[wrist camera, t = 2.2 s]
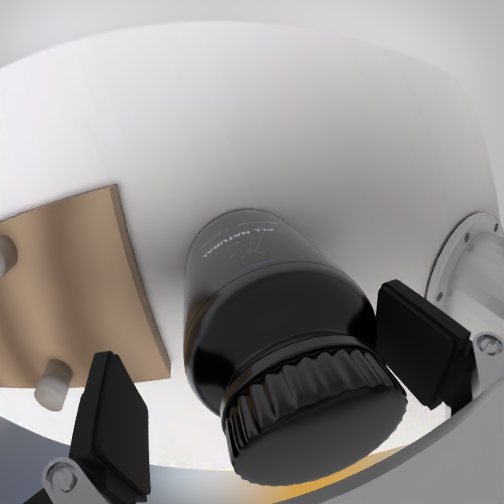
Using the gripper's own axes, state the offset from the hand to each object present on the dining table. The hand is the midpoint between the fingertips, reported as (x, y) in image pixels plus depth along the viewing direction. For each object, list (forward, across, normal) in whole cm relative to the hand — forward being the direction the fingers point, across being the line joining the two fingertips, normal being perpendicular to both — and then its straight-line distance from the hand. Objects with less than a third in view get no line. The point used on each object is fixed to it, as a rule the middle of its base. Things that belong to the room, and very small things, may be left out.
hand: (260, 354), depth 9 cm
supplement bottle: (+8, -1, 0) cm, 8 cm away
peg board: (+8, +15, 0) cm, 17 cm away
